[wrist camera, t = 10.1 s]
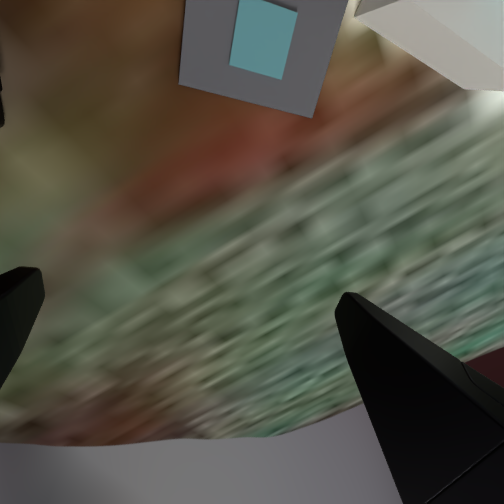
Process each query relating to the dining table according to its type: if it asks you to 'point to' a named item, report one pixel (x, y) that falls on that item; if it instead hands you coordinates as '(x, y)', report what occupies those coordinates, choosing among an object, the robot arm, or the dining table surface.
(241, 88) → the card
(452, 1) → the white block
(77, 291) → the dining table surface
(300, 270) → the dining table surface
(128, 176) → the dining table surface
